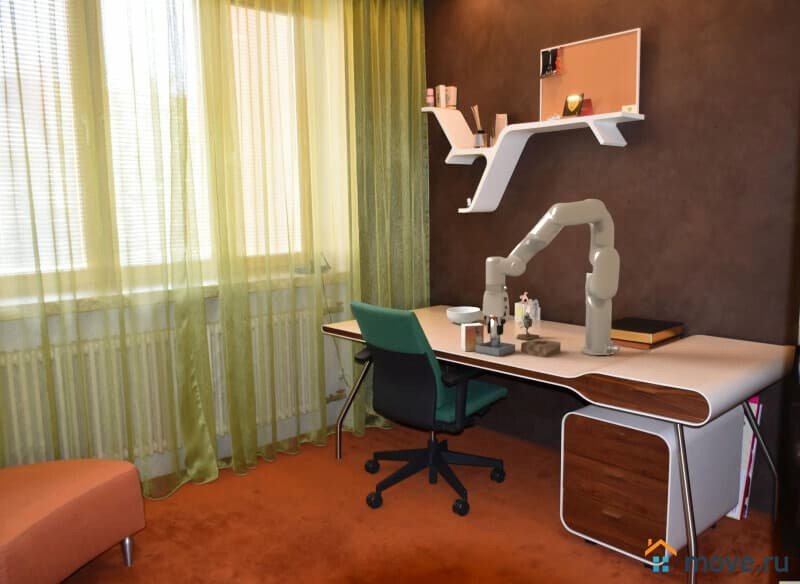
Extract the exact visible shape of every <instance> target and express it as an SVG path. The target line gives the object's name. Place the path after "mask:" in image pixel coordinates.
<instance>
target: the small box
mask: <svg viewBox="0 0 800 584" xmlns="http://www.w3.org/2000/svg"><path fill="white" fill-rule="evenodd" d="M484 327H485V325H484V324H482V323H480V322H476V323H475V322H472V323H471V324H461V327H460V330H461V331H460V332H461V333H460V335H461V337H460V342H461V343H460V346H461V347H460V348H461V350H463V351H464V352H470V351H471V352H473V351H474V352H476V345H479V344H482V343H485V342H484V336H485V335H484V334H485V333H484Z"/></svg>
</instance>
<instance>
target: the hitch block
mask: <svg viewBox="0 0 800 584" xmlns="http://www.w3.org/2000/svg"><path fill="white" fill-rule="evenodd" d="M520 344H521V345H520V346H521V347H520V349H521V351H520V353H521V354H524V353H525V355H531V356H535V357H542V358H546V357H550V356H553V355H555V354H559V353H561V341H556V340H555V341H554V340H548V339H542V338H539V339H533V340H530V341H523V342H521V343H520Z"/></svg>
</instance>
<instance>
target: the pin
mask: <svg viewBox="0 0 800 584" xmlns="http://www.w3.org/2000/svg"><path fill="white" fill-rule="evenodd" d="M489 317H490V334H489V339H490V340H489V341H490V347H493V348H498V347H500V342H501V335H497V325H499V324H498V318H497V317H496V316H492V315H489Z"/></svg>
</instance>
